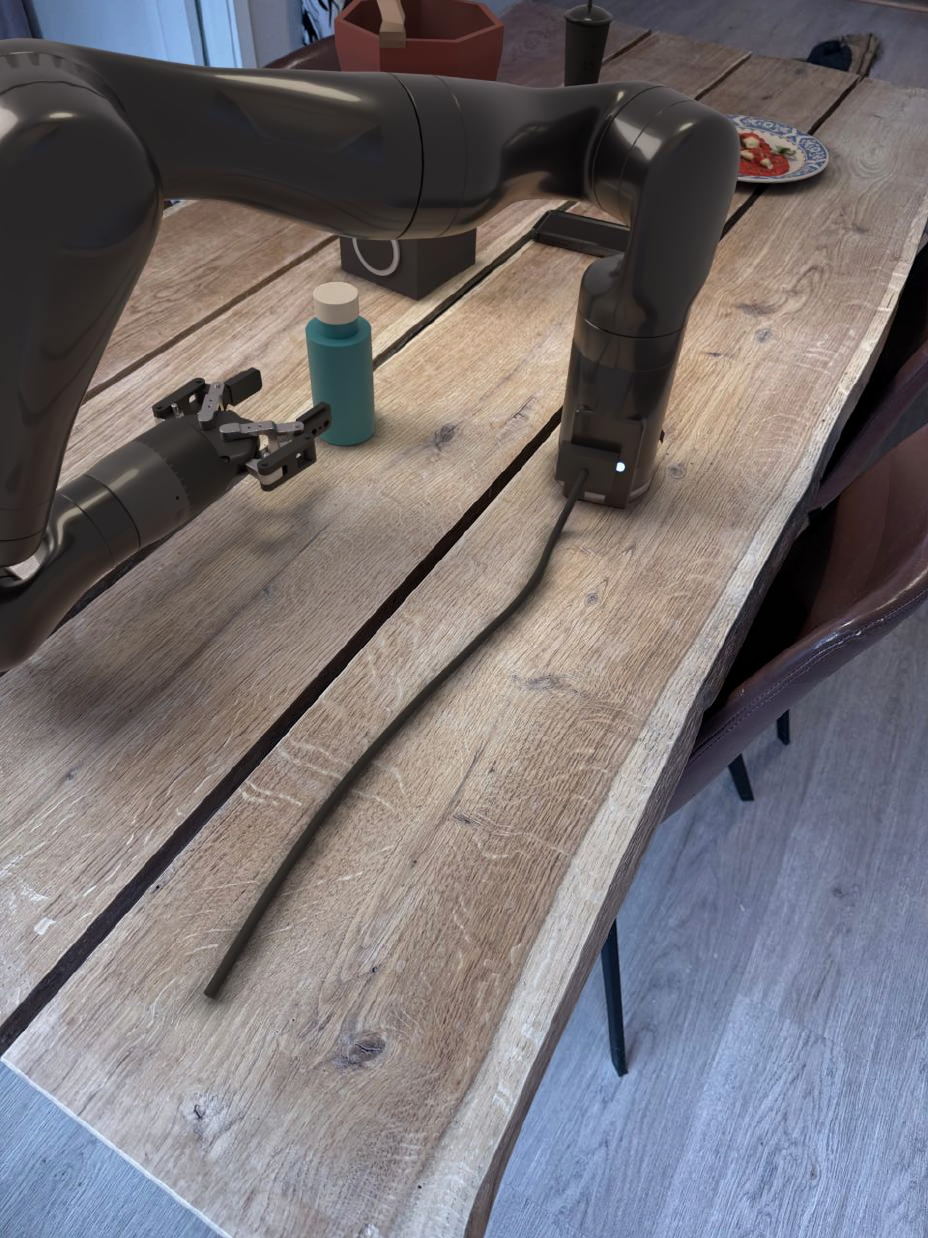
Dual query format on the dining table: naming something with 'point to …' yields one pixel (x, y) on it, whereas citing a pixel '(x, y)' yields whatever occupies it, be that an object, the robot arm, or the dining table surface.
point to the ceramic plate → (776, 151)
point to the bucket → (420, 38)
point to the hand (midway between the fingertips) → (292, 393)
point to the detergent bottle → (341, 363)
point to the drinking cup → (585, 43)
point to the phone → (581, 233)
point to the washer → (409, 261)
